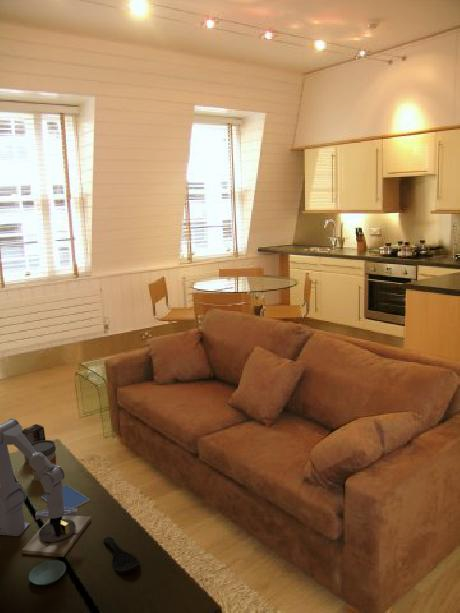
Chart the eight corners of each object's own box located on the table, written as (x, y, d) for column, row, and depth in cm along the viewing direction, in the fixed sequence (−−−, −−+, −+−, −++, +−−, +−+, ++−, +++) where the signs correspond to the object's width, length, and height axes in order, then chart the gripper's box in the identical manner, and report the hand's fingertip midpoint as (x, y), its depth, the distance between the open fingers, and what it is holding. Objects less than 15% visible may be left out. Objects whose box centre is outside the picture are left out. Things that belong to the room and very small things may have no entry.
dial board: (22, 553, 193) (21, 549, 192) (53, 517, 214) (53, 513, 213) (63, 557, 190) (62, 552, 189) (91, 520, 211) (90, 516, 210)
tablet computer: (40, 498, 229) (40, 496, 229) (67, 486, 238) (66, 483, 238) (63, 515, 216) (63, 512, 216) (91, 501, 225) (90, 498, 224)
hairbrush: (115, 528, 200) (144, 560, 180) (116, 537, 201) (145, 570, 180) (94, 536, 196) (120, 570, 175) (95, 546, 197) (122, 581, 176)
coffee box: (40, 453, 270) (36, 423, 266) (48, 456, 266) (44, 426, 263) (24, 461, 262) (19, 430, 259) (32, 464, 259) (28, 433, 255)
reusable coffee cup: (38, 469, 254) (34, 439, 251) (63, 469, 252) (59, 439, 249) (25, 483, 242) (20, 452, 239) (51, 483, 240) (47, 452, 237)
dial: (31, 535, 200) (30, 523, 199) (60, 517, 210) (59, 506, 209) (54, 547, 192) (52, 534, 191) (83, 527, 203) (81, 515, 202)
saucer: (56, 560, 188) (55, 555, 188) (73, 576, 180) (72, 569, 179) (23, 579, 180) (22, 573, 180) (39, 595, 172) (38, 589, 171)
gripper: (77, 492, 199) (81, 526, 201) (37, 496, 197) (41, 529, 200) (74, 503, 192) (77, 537, 194) (32, 506, 191) (36, 541, 193)
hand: (58, 534), depth 197 cm, fingers closed, pressing on dial
